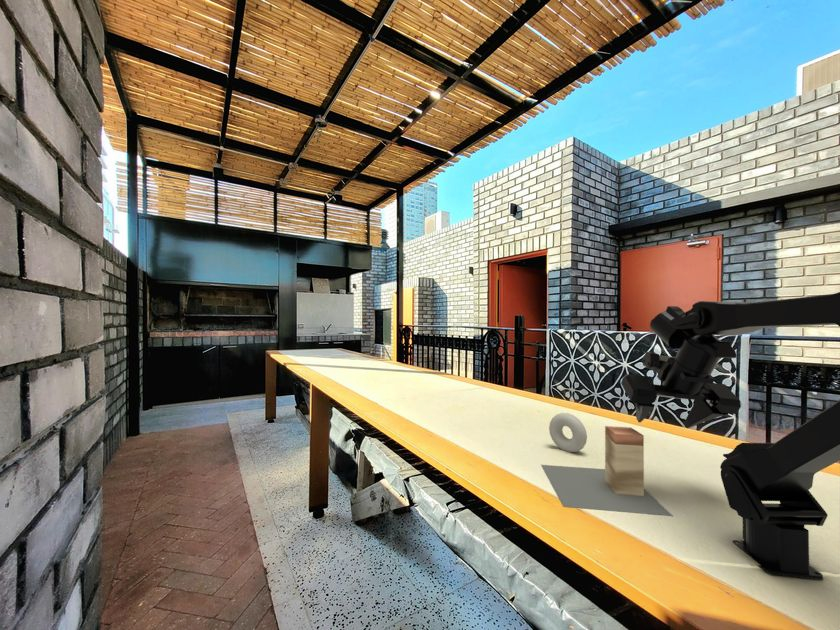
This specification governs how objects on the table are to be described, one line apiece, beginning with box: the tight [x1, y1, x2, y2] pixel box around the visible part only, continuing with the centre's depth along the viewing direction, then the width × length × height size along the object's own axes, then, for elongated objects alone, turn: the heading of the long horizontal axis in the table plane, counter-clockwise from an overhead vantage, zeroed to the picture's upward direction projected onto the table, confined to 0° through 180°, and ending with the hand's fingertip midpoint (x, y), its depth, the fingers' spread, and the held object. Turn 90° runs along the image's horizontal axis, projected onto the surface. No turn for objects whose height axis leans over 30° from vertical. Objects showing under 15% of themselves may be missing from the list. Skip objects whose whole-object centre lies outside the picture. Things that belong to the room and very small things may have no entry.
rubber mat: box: [540, 464, 674, 517], centre depth 67 cm, size 18×18×1 cm
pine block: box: [604, 425, 645, 496], centre depth 67 cm, size 5×5×12 cm
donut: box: [548, 412, 588, 453], centre depth 87 cm, size 10×4×10 cm, turn 36°
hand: (662, 423), depth 69 cm, fingers open, 9 cm apart
